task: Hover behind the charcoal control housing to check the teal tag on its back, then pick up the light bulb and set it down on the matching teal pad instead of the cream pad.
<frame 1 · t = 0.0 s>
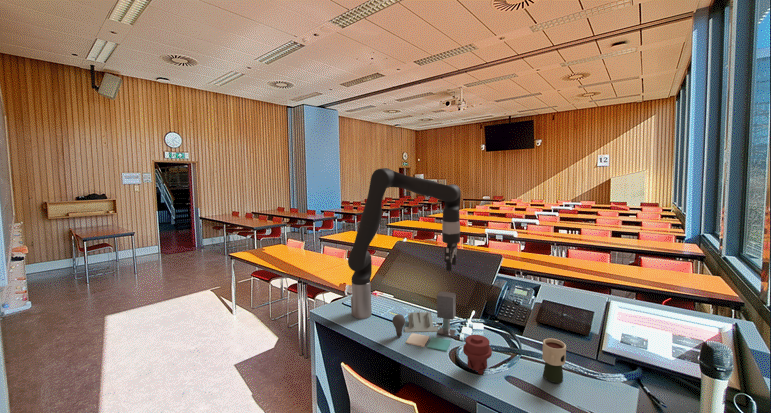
hand: (451, 267, 147), 29 cm above the table, tool pointing down, fingers open, 8 cm apart
character mug: (552, 379, 117), on the table
teal pad: (439, 344, 140), on the table
mechanical component: (477, 369, 123), on the table
control housing: (446, 333, 149), on the table
metal bracket: (420, 326, 157), on the table
cream pad: (417, 340, 144), on the table
light bulb: (399, 337, 147), on the table
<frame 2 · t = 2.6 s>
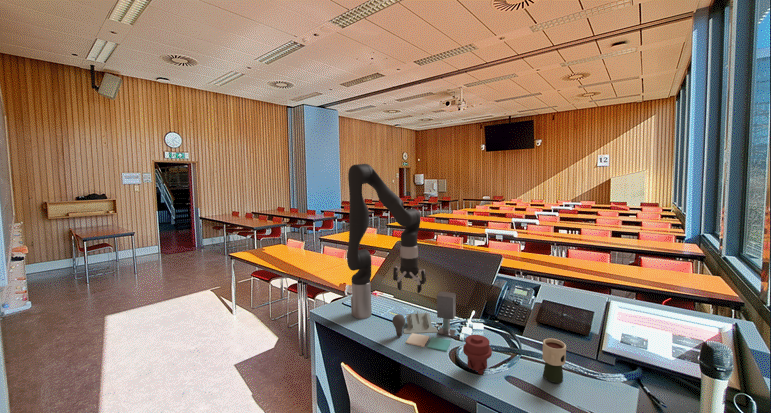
hand: (409, 290, 147), 20 cm above the table, tool pointing down, fingers open, 8 cm apart
metal bracket: (419, 327, 156), on the table
everything else where it was.
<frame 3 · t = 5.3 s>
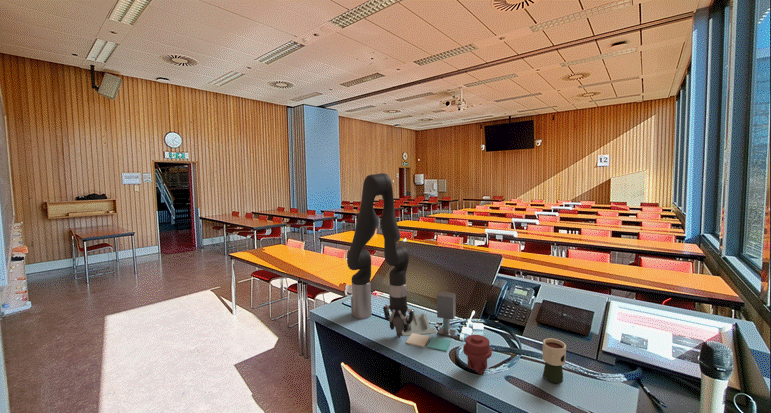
hand: (399, 330, 147), 3 cm above the table, tool pointing down, fingers closed on light bulb, 5 cm apart
metal bracket: (416, 329, 155), on the table
light bulb: (399, 337, 147), on the table, touching gripper
everything else where it was.
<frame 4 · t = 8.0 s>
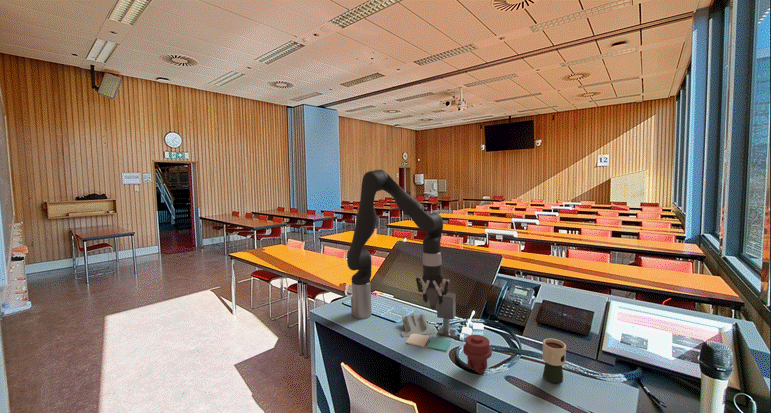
hand: (433, 302, 138), 18 cm above the table, tool pointing down, fingers closed on light bulb, 5 cm apart
metal bracket: (416, 329, 154), on the table, touching cream pad
light bulb: (433, 310, 138), point 15 cm above the table, touching gripper
everything else where it was.
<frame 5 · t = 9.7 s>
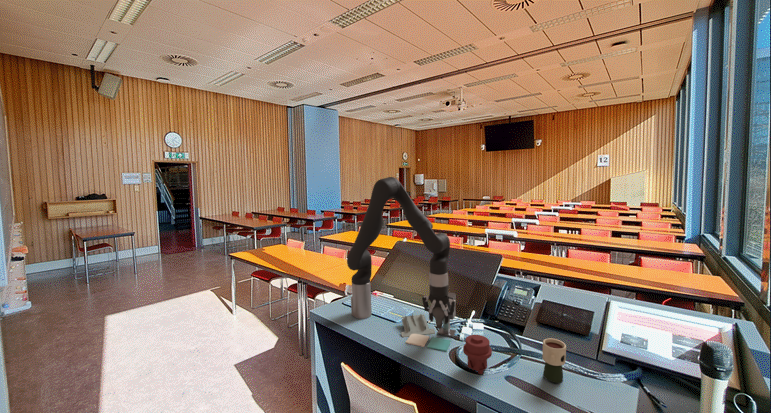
hand: (439, 321, 139), 10 cm above the table, tool pointing down, fingers closed on light bulb, 5 cm apart
metal bracket: (415, 329, 154), on the table
light bulb: (439, 329, 139), point 7 cm above the table, touching gripper
everything else where it was.
when the fingers open (5 cm above the table, at t = 11.2 s): light bulb drops 1 cm, resting on teal pad.
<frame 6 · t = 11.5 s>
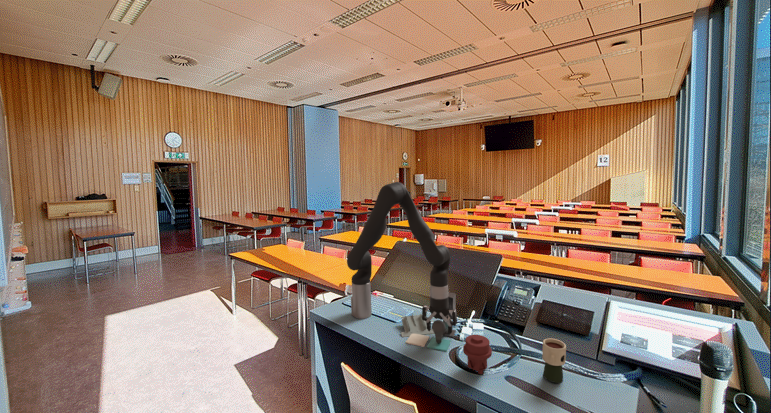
hand: (439, 332, 139), 6 cm above the table, tool pointing down, fingers open, 8 cm apart
light bulb: (438, 343, 140), resting on teal pad
everything else where it was.
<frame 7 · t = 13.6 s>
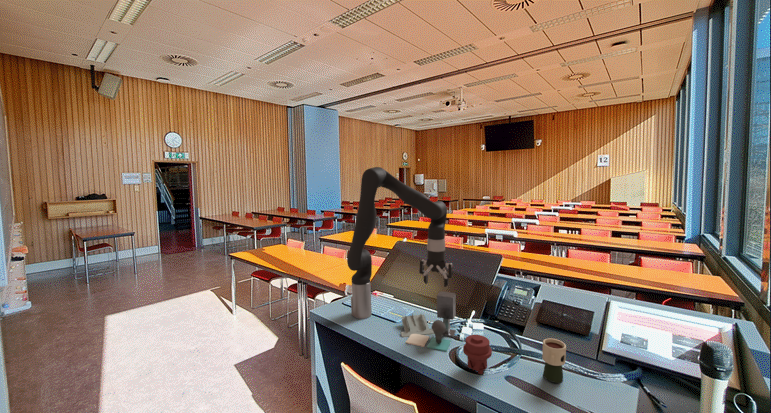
hand: (435, 284, 145), 23 cm above the table, tool pointing down, fingers open, 8 cm apart
metal bracket: (415, 329, 154), on the table, touching cream pad
everything else where it was.
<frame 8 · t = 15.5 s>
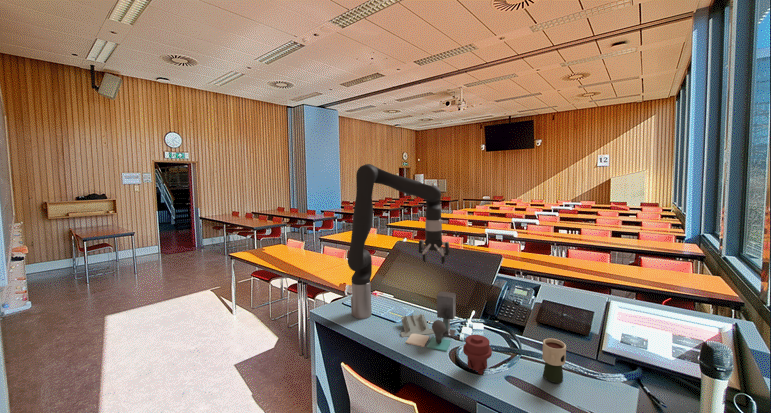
hand: (433, 262, 158), 28 cm above the table, tool pointing down, fingers open, 8 cm apart
metal bracket: (415, 329, 154), on the table
everything else where it was.
at the end: light bulb 0.3 cm off-centre on the teal pad, point 0.3 cm above the teal pad's base; light bulb tilted 0°; the gripper is holding nothing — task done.
